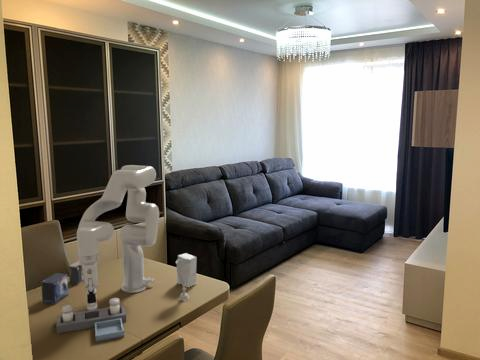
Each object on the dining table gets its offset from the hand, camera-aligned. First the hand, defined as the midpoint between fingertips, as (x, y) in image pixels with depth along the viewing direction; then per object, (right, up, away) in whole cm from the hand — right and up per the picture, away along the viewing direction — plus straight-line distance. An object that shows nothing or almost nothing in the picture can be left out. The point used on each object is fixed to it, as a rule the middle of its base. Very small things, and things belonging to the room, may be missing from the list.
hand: (91, 299), depth 163 cm
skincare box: (+34, -4, +37) cm, 51 cm away
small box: (-24, -6, +21) cm, 32 cm away
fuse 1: (-9, -10, -2) cm, 13 cm away
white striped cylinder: (0, -4, +1) cm, 4 cm away
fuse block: (0, -9, +1) cm, 9 cm away
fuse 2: (+8, -9, +4) cm, 13 cm away
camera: (-21, -3, +41) cm, 46 cm away
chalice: (+35, -6, +22) cm, 41 cm away
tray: (+9, -11, -7) cm, 16 cm away
